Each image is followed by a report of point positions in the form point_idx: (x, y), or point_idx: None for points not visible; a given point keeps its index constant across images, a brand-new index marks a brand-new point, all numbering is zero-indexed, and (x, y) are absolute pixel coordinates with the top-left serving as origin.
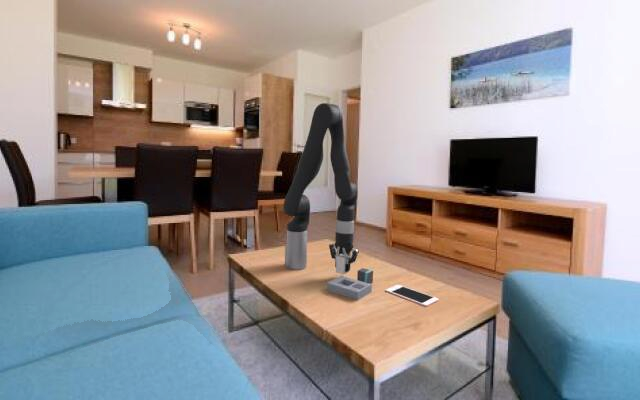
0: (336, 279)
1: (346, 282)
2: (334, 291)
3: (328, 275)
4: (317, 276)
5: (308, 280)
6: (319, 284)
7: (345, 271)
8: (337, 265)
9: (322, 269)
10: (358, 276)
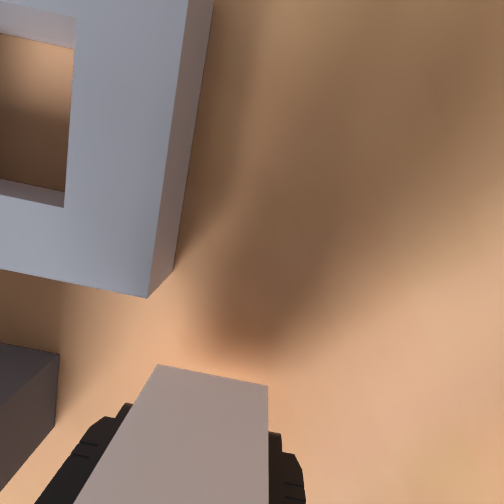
0: (139, 142)
1: (51, 198)
2: None
3: (355, 382)
4: (446, 313)
5: (499, 167)
6: (348, 121)
7: None
8: (241, 456)
9: (460, 485)
10: (3, 390)
